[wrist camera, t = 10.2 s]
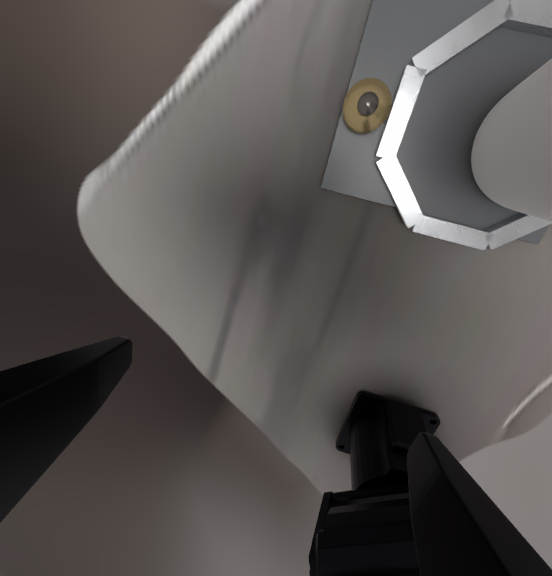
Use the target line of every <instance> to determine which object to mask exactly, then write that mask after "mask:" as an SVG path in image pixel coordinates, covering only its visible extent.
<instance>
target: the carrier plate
mask: <svg viewBox="0 0 552 576" xmlns="http://www.w3.org/2000/svg"><path fill="white" fill-rule="evenodd" d="M493 1H494V0H373V1H372V5H371V8H370V12H369V16H368V19H367V23H366V26H365V30H364V34H363V37H362V41H361V44H360V48H359V52H358V55H357V59H356V62H355V66H354V69H353V73H352V77H351V80H350V84H349V87H348V91H349V90H350V88H351V87H352V86H353V85H354V84H355V83H357V82H358V81H360V80H362V79H365V78H376V79H379V80H381V81H383V82H384V83H385V84H386V85H387V87H388V88H389V90H390V93H391V97H392V103H393V100H394V97H395V94H396V91H397V88H398V85H399V82H400V79H401V76H402V73H403V70H404V68H405V67H406V66H407V65H409V64H408V63H409V61H410V60H411V59H412V58H413V57H414V56H415V55H417V54H418V53H420V52H421V51H423V50H424V49H425V48H427V47H428V46H430V45H431V44H433V43H434V42H435V41H437V40H438V39H440V38H441V37H443V36H444V35H445V34H447V33H448V32H450V31H451V30H453V29H454V28H455V27H457V26H458V25H460V24H461V23H463V22H464V21H465V20H467V19H468V18H470V17H471V16H473V15H474V14H475V13H477V12H478V11H480V10H481V9H483V8H484V7H485V6H487V5H488V4H490V3H491V2H493ZM550 59H552V38H551V37H546V36H542V35H537V34H532V33H527V32H522V31H517V30H512V29H508V28H503V27H498V28H497V29H495V30H494V31H492V32H491V33H489V34H488V35H486V36H485V37H483V38H482V39H480V40H479V41H477V42H476V43H474V44H473V45H471V46H470V47H468V48H467V49H465V50H464V51H462V52H461V53H459V54H458V55H456V56H455V57H453V58H452V59H450V60H449V61H447V62H446V63H444V64H443V65H441V66H440V67H438V68H437V69H435V70H434V71H432V72H431V73H429V74H428V75H426V76H425V77H424V79H423V82H422V85H421V88H420V90H419V93H418V96H417V99H416V101H415V104H414V107H413V110H412V112H411V115H410V118H409V121H408V123H407V126H406V129H405V132H404V134H403V137H402V140H401V143H400V145H399V148H398V151H397V154H396V157H397V159H398V162H399V164H400V166H401V168H402V170H403V172H404V175H405V177H406V179H407V181H408V183H409V186H410V188H411V190H412V192H413V194H414V196H415V199H416V201H417V203H418V205H419V207H420V210H421V212H422V214H423V215H427V216H431V217H435V218H438V219H442V220H446V221H450V222H454V223H458V224H462V225H465V226H469V227H473V228H477V229H481V230H484V229H487V228H489V227H491V226H493V225H495V224H497V223H500V222H502V221H504V220H506V219H508V218H510V217H513V216H515V215H517V214H519V213H521V212H517V211H514V210H511V209H508V208H506V207H503V206H501V205H499V204H497V203H495V202H494V201H492V200H491V199H490V198H488V197H487V196H486V195H485V194H484V193H483V192H482V191H481V189H480V188H479V186H478V185H477V183H476V181H475V178H474V175H473V172H472V166H471V154H472V147H473V143H474V140H475V137H476V134H477V132H478V130H479V128H480V126H481V124H482V122H483V121H484V119H485V118H486V116H487V115H488V113H489V112H490V111H491V110H492V108H493V107H494V106H495V105H496V104H497V103H498V102H499V101H500V100H501V99H502V98H503V97H504V96H505V95H506V94H508V93H509V92H510V91H511V90H513V89H514V88H515V87H516V86H517V85H519V84H520V83H521V82H522V81H524V80H525V79H526V78H528V77H529V76H530V75H531V74H533V73H534V72H535V71H536V70H538V69H539V68H540V67H542V66H543V65H544V64H545V63H547V62H548V61H549V60H550ZM348 91H347V93H348ZM391 106H392V105H391ZM387 118H388V117H387ZM387 118H386V120H387ZM386 120H385V121H384V122H383V123H382V124H381V125H380V126H379V127H378V128H377V129H376V130H374V131H373V132H370V133H367V134H357V133H354V132H352V131H351V130H350V129H349V128H348V127H347V126H346V124H345V122H344V119H343V109H342V113H341V116H340V120H339V123H338V127H337V130H336V134H335V138H334V141H333V145H332V148H331V152H330V156H329V159H328V163H327V166H326V170H325V174H324V177H323V181H322V184H321V188H323V189H327V190H331V191H335V192H338V193H342V194H346V195H350V196H354V197H358V198H361V199H365V200H369V201H373V202H377V203H381V204H385V205H388V206H392V207H396V206H395V204H394V202H393V200H392V197H391V195H390V193H389V191H388V189H387V187H386V185H385V183H384V181H383V179H382V177H381V175H380V172H379V170H378V168H377V166H376V164H375V162H376V161H378V160H379V159H381V158H380V157H376V156H375V153H376V150H377V147H378V144H379V141H380V138H381V135H382V132H383V129H384V126H385V123H386ZM549 225H550V224H549ZM549 225H547V226H545V227H543V228H540V229H538V230H536V231H533V232H531V233H529V234H527V235H524V236H522V237H520V238H517V239H519V240H523V241H527V242H531V243H535V244H538V243H539V241H540V240H541V238H542V236H543V235H544V233H545V232H546V230H547V228H548V227H549Z"/></svg>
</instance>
